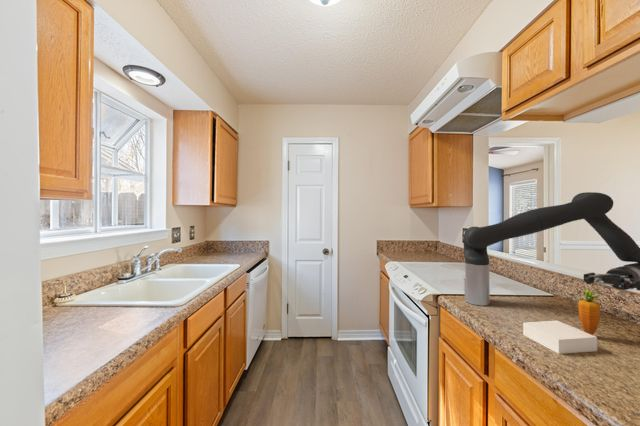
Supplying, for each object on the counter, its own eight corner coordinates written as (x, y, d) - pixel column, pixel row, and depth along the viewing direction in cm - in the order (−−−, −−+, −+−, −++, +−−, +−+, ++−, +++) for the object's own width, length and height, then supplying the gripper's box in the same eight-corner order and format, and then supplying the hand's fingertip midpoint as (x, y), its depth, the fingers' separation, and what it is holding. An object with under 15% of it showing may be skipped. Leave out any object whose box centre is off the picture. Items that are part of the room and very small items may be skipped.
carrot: (589, 333, 89) (588, 287, 89) (605, 340, 84) (604, 291, 84) (574, 333, 89) (573, 287, 89) (589, 340, 84) (589, 292, 84)
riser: (523, 334, 89) (523, 322, 89) (557, 332, 90) (557, 320, 90) (558, 353, 77) (558, 339, 77) (597, 351, 78) (597, 337, 78)
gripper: (597, 263, 104) (576, 268, 97) (655, 270, 91) (635, 276, 84) (598, 283, 104) (577, 289, 97) (656, 292, 91) (635, 301, 84)
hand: (604, 283), depth 91 cm, fingers open, 8 cm apart
